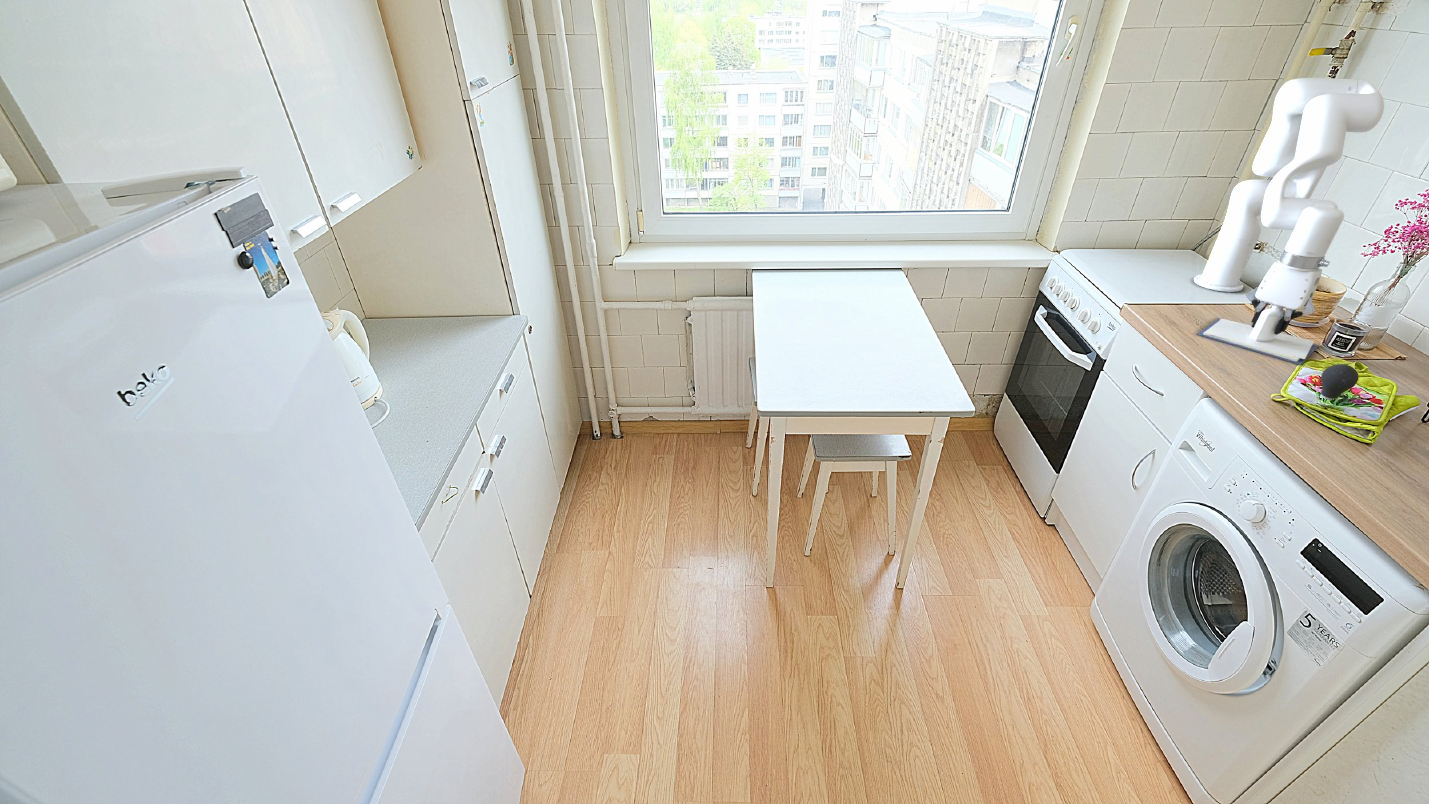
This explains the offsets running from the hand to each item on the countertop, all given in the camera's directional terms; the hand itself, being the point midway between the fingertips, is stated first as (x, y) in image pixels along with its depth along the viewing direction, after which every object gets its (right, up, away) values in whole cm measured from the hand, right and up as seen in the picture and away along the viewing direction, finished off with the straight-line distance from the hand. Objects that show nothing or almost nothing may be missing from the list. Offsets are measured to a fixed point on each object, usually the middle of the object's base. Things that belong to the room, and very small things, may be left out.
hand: (1266, 329), depth 162 cm
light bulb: (-9, -20, -24) cm, 33 cm away
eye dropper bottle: (0, -3, +2) cm, 3 cm away
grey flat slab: (0, -3, +3) cm, 4 cm away
